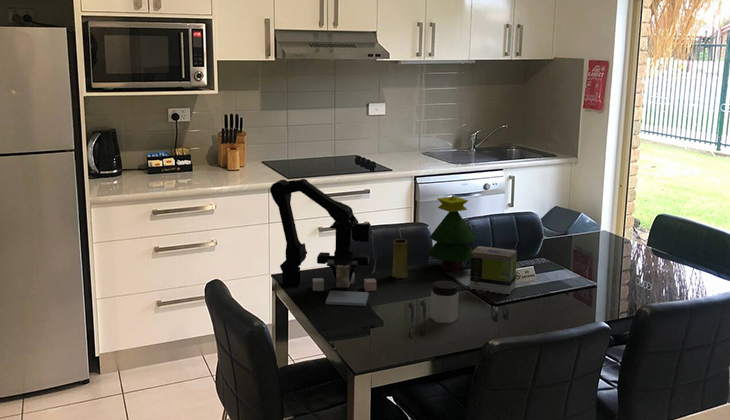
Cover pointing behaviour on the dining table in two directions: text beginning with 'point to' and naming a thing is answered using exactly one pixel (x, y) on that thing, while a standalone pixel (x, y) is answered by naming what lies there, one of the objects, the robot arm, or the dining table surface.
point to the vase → (400, 259)
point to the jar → (444, 302)
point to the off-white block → (318, 284)
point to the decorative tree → (452, 236)
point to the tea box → (493, 269)
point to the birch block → (342, 276)
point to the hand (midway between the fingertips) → (343, 281)
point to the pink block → (370, 284)
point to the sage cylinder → (352, 279)
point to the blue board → (347, 298)
